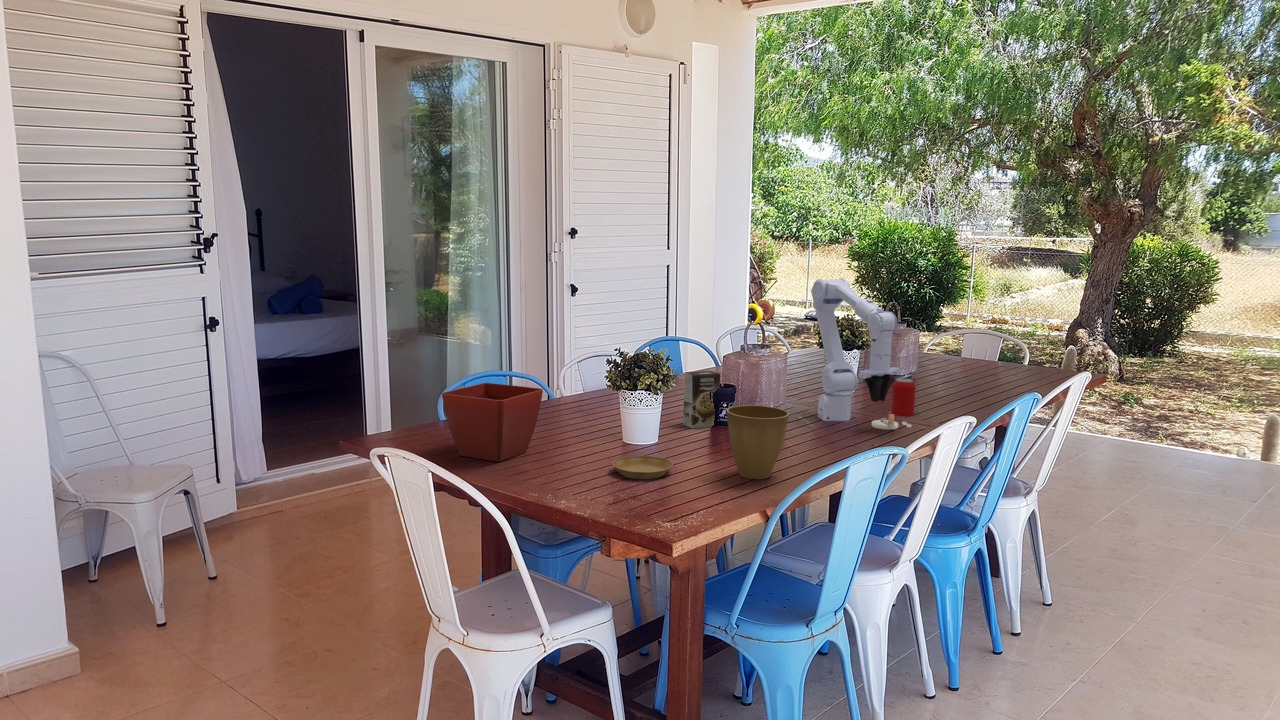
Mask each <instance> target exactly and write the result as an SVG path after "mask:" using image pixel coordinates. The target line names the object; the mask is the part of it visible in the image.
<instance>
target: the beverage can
mask: <svg viewBox="0 0 1280 720" xmlns="http://www.w3.org/2000/svg"><path fill="white" fill-rule="evenodd" d="M915 396H916V384H915V382H914V380H913V379H912V378H895V381H893V384H892V397H891V398H892V399H891V414H894V416H900V417H911V416H914V414H915V399H916V397H915Z"/></svg>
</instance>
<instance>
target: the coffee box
mask: <svg viewBox="0 0 1280 720" xmlns="http://www.w3.org/2000/svg"><path fill="white" fill-rule="evenodd" d="M718 386H720V387H718ZM717 388H720V389H721V373H720V372H717V371H716V372H715V371H713V370H704V371H703V370H702V371H685V372H684V388H683V389H684V390H683V391H684V392H683V393H684V394H683V411H682V412H683V413H682V414H683V416H682V417H683V418H682V422H683V423H682V425H683V426H685V427H688V428H690V429H692V430H693V429H702V428H704V429H705V428H713V427H712V426H713V425H714V420H715V418H714V417H715V409H714V403H713V393H714V392H715V391H716V390H717ZM710 392H711V399H710ZM712 392H713V393H712Z"/></svg>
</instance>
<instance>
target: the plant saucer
mask: <svg viewBox="0 0 1280 720" xmlns="http://www.w3.org/2000/svg"><path fill="white" fill-rule="evenodd" d="M612 466H613V468H614V469H615V470H616V472H617V473H618V474H620V475H621V476H623V477H625V478H629V479H635V480H651V479H658V478H661V477H663V476H665V475H666V474H667V473H668V472H669V471H670V470H671V469H672V467H673V466H674V465H673V461H671V460H669V459H667V458H664V457H660V456H654V455H653V456H652V455H630V456H623V457H619V458H617V459H615V460H613V461H612Z"/></svg>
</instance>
